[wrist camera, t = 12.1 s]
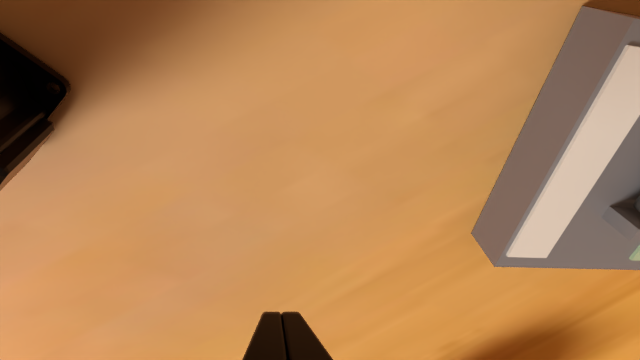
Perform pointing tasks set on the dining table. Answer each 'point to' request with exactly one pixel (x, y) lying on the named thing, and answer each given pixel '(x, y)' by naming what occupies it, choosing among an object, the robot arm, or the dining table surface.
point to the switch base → (575, 159)
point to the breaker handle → (637, 204)
